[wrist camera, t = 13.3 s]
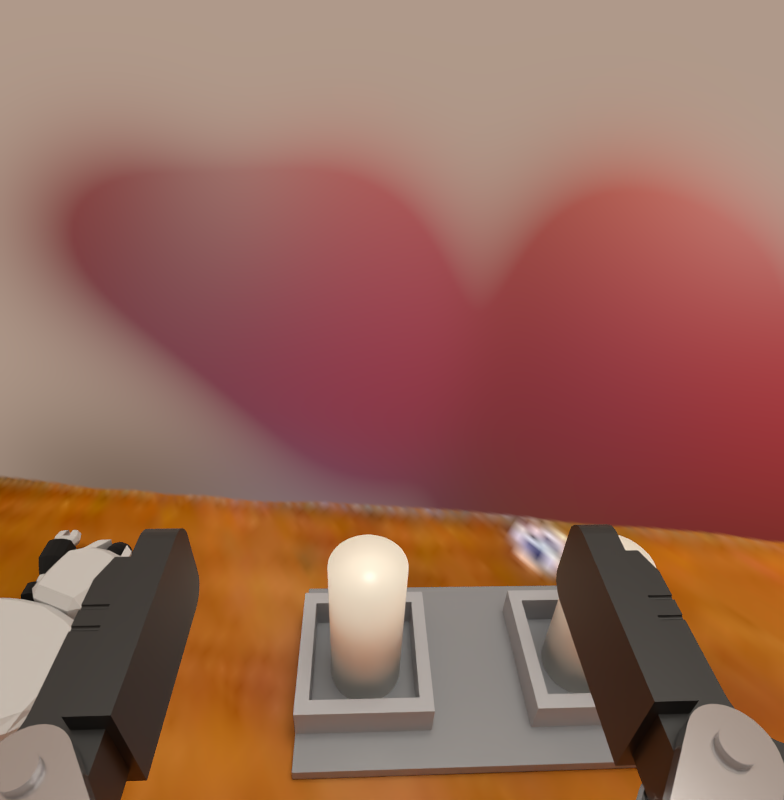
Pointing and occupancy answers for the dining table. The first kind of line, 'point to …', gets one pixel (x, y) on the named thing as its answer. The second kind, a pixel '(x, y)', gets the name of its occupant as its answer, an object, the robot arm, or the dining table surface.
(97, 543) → the robot toy
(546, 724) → the grey double candle holder
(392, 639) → the cream white cylinder
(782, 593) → the dining table surface
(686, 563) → the dining table surface
